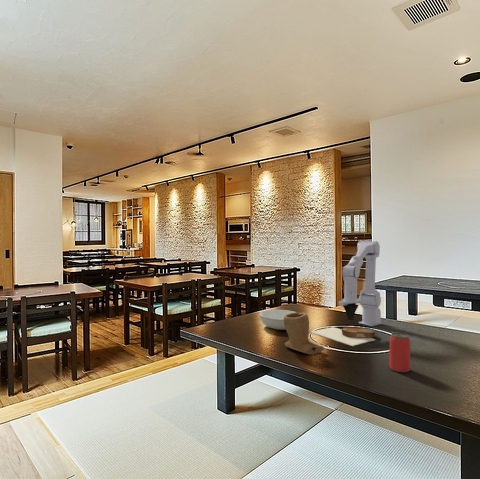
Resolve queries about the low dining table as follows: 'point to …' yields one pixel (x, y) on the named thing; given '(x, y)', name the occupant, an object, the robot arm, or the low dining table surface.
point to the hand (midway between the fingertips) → (350, 319)
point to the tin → (358, 332)
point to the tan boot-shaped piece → (299, 333)
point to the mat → (341, 336)
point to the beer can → (399, 352)
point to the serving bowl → (274, 318)
